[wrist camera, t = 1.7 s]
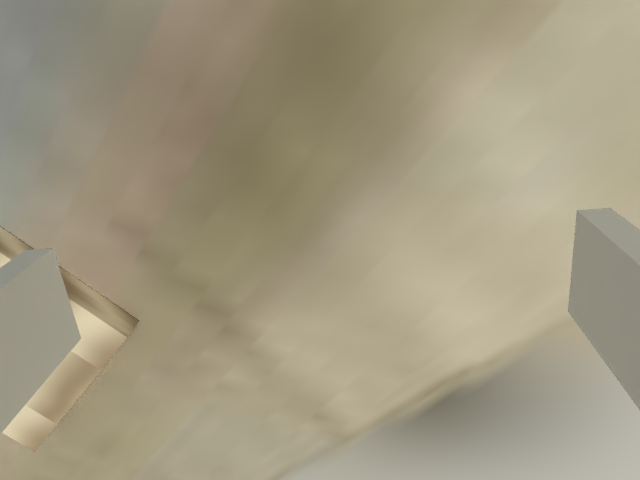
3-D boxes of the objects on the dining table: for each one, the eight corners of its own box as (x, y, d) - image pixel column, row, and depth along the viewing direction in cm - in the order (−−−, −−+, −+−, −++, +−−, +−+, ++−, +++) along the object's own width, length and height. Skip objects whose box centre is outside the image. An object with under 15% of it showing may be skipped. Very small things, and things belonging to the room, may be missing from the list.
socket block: (-90, 347, 47) (-113, 364, 45) (-13, 218, 42) (-34, 230, 39) (49, 431, 50) (34, 451, 48) (139, 320, 45) (127, 337, 42)
